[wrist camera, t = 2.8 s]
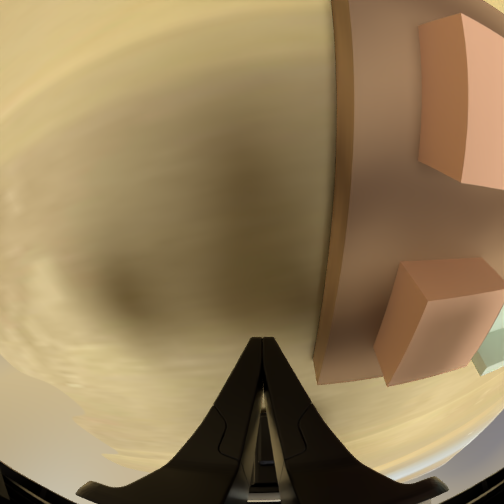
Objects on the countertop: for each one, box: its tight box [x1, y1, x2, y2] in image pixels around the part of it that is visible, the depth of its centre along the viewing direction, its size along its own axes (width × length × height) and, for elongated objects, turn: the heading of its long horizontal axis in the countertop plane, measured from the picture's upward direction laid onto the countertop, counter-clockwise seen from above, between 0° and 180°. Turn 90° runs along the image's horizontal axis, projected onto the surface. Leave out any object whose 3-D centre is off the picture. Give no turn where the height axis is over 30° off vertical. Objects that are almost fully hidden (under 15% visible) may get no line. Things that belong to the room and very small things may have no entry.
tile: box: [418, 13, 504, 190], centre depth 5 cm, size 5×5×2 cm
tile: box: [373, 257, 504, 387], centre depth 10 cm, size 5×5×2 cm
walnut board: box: [313, 0, 504, 385], centre depth 10 cm, size 20×12×2 cm, turn 2°
